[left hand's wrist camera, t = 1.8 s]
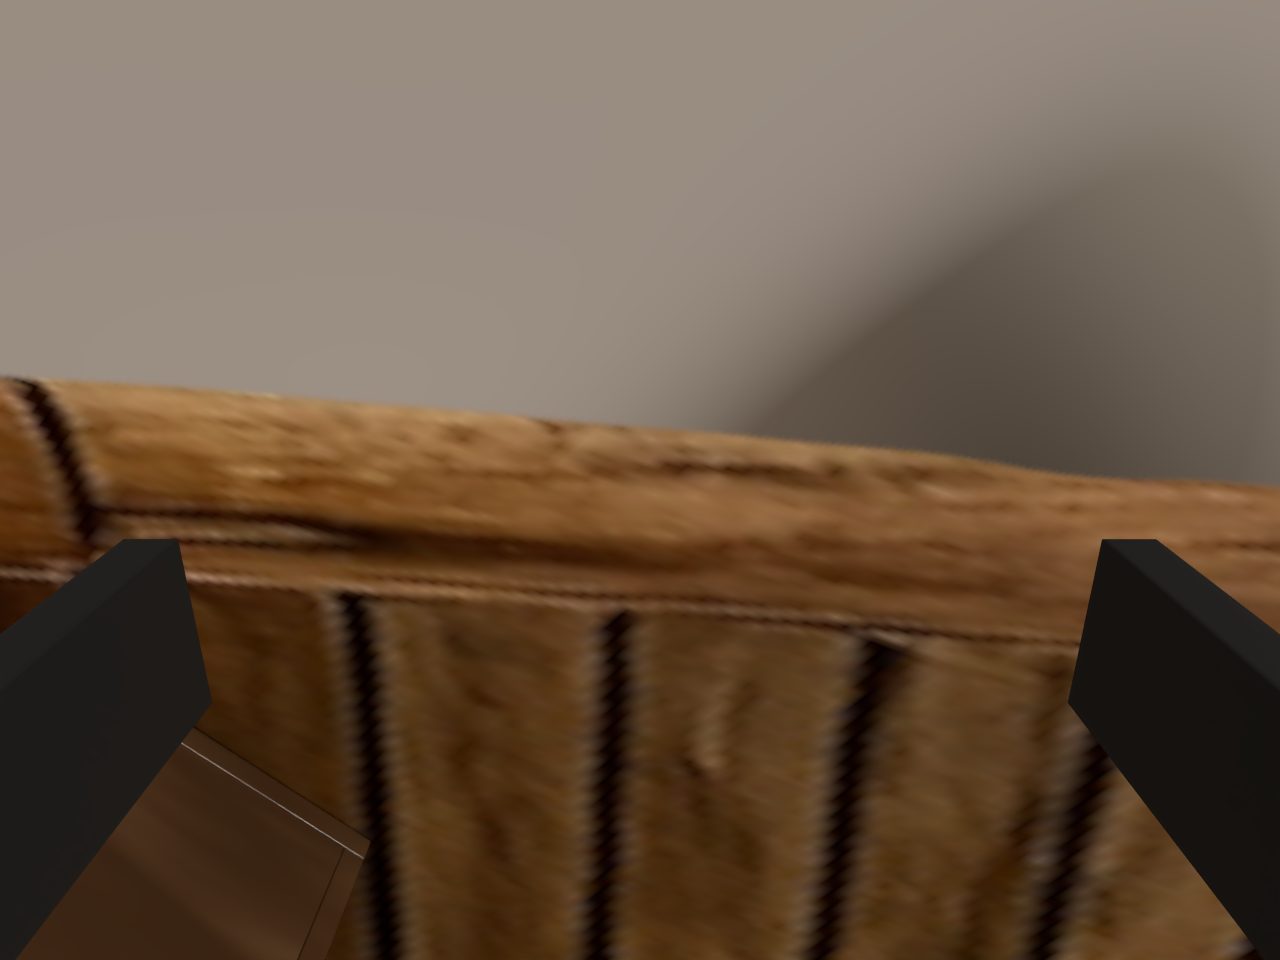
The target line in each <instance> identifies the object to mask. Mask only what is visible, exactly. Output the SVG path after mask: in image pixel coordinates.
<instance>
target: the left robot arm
mask: <svg viewBox="0 0 1280 960" xmlns="http://www.w3.org/2000/svg"><path fill="white" fill-rule="evenodd" d="M211 703H212V700H211V695H210V690H209V686H208V681H207V676H206V671H205V667H204V662H203V657H202V652H201V648H200V643H199V638H198V633H197V628H196V624H195V619H194V614H193V609H192V605H191V600H190V595H189V590H188V585H187V581H186V576H185V571H184V566H183V562H182V557H181V552H180V547H179V543H178V539H124V540H122V541H121V542H120V543H118V544H117V545H116V546H115V547H113V548H112V549H111V550H109V551H108V552H107V553H105V554H104V555H103V556H102V557H100V558H99V559H98V560H96V561H95V562H94V563H92V564H91V565H90V566H88V567H87V568H86V569H85V570H83V571H82V572H81V573H79V574H78V575H77V576H75V577H74V578H73V579H72V580H70V581H69V582H68V583H66V584H65V585H64V586H62V587H61V588H60V589H59V590H57V591H56V592H55V593H53V594H52V595H51V596H49V597H48V598H47V599H46V600H44V601H43V602H42V603H40V604H39V605H38V606H36V607H35V608H34V609H32V610H31V611H30V612H29V613H27V614H26V615H25V616H23V617H22V618H21V619H19V620H18V621H17V622H16V623H14V624H13V625H12V626H10V627H9V628H8V629H6V630H5V631H4V632H3V633H1V634H0V960H16V958H17V957H18V956H19V954H20V953H21V952H22V951H23V949H24V948H25V947H26V945H27V944H28V943H29V941H30V940H31V939H32V937H33V936H34V935H35V934H36V932H37V931H38V930H39V928H40V927H41V926H42V924H43V923H44V922H45V920H46V919H47V918H48V917H49V915H50V914H51V913H52V911H53V910H54V909H55V907H56V906H57V905H58V903H59V902H60V901H61V900H62V898H63V897H64V896H65V894H66V893H67V892H68V890H69V889H70V888H71V886H72V885H73V884H74V883H75V881H76V880H77V879H78V877H79V876H80V875H81V873H82V872H83V871H84V869H85V868H86V867H87V866H88V864H89V863H90V862H91V860H92V859H93V858H94V856H95V855H96V854H97V852H98V851H99V850H100V849H101V847H102V846H103V845H104V843H105V842H106V841H107V839H108V838H109V837H110V835H111V834H112V833H113V832H114V830H115V829H116V828H117V826H118V825H119V824H120V822H121V821H122V820H123V818H124V817H125V816H126V815H127V813H128V812H129V811H130V809H131V808H132V807H133V805H134V804H135V803H136V801H137V800H138V799H139V798H140V796H141V795H142V794H143V792H144V791H145V790H146V788H147V787H148V786H149V784H150V783H151V782H152V781H153V779H154V778H155V777H156V775H157V774H158V773H159V771H160V770H161V769H162V767H163V766H164V765H165V764H166V762H167V761H168V760H169V758H170V757H171V756H172V754H173V753H174V752H175V750H176V749H177V748H178V747H179V745H180V744H181V743H182V741H183V740H184V739H185V737H186V736H187V735H188V733H189V732H190V731H191V730H192V728H193V727H194V726H195V724H196V723H197V722H198V720H199V719H200V718H201V716H202V715H203V714H204V713H205V711H206V710H207V709H208V707H209V706H210V705H211ZM1068 703H1069V705H1070V706H1071V707H1072V709H1073V710H1074V711H1075V713H1076V714H1077V715H1078V716H1079V718H1080V719H1081V720H1082V722H1083V723H1084V724H1085V726H1086V727H1087V728H1088V730H1089V731H1090V732H1091V733H1092V735H1093V736H1094V737H1095V739H1096V740H1097V741H1098V743H1099V744H1100V745H1101V747H1102V748H1103V749H1104V750H1105V752H1106V753H1107V754H1108V756H1109V757H1110V758H1111V760H1112V761H1113V762H1114V764H1115V765H1116V766H1117V767H1118V769H1119V770H1120V771H1121V773H1122V774H1123V775H1124V777H1125V778H1126V779H1127V781H1128V782H1129V783H1130V784H1131V786H1132V787H1133V788H1134V790H1135V791H1136V792H1137V794H1138V795H1139V796H1140V798H1141V799H1142V800H1143V801H1144V803H1145V804H1146V805H1147V807H1148V808H1149V809H1150V811H1151V812H1152V813H1153V815H1154V816H1155V817H1156V818H1157V820H1158V821H1159V822H1160V824H1161V825H1162V826H1163V828H1164V829H1165V830H1166V832H1167V833H1168V834H1169V835H1170V837H1171V838H1172V839H1173V841H1174V842H1175V843H1176V845H1177V846H1178V847H1179V849H1180V850H1181V851H1182V852H1183V854H1184V855H1185V856H1186V858H1187V859H1188V860H1189V862H1190V863H1191V864H1192V866H1193V867H1194V868H1195V869H1196V871H1197V872H1198V873H1199V875H1200V876H1201V877H1202V879H1203V880H1204V881H1205V883H1206V884H1207V885H1208V886H1209V888H1210V889H1211V890H1212V892H1213V893H1214V894H1215V896H1216V897H1217V898H1218V900H1219V901H1220V902H1221V903H1222V905H1223V906H1224V907H1225V909H1226V910H1227V911H1228V913H1229V914H1230V915H1231V917H1232V918H1233V919H1234V920H1235V922H1236V923H1237V924H1238V926H1239V927H1240V928H1241V930H1242V931H1243V932H1244V934H1245V935H1246V936H1247V937H1248V939H1249V940H1250V941H1251V943H1252V944H1253V945H1254V947H1255V948H1256V949H1257V951H1258V952H1259V953H1260V954H1261V956H1262V957H1263V958H1264V960H1280V634H1279V633H1277V632H1276V631H1275V630H1274V629H1272V628H1271V627H1270V626H1268V625H1267V624H1266V623H1264V622H1263V621H1262V620H1261V619H1259V618H1258V617H1257V616H1255V615H1254V614H1253V613H1251V612H1250V611H1249V610H1248V609H1246V608H1245V607H1244V606H1242V605H1241V604H1240V603H1238V602H1237V601H1236V600H1234V599H1233V598H1232V597H1231V596H1229V595H1228V594H1227V593H1225V592H1224V591H1223V590H1221V589H1220V588H1219V587H1218V586H1216V585H1215V584H1214V583H1212V582H1211V581H1210V580H1208V579H1207V578H1206V577H1205V576H1203V575H1202V574H1201V573H1199V572H1198V571H1197V570H1195V569H1194V568H1193V567H1191V566H1190V565H1189V564H1188V563H1186V562H1185V561H1184V560H1182V559H1181V558H1180V557H1178V556H1177V555H1176V554H1175V553H1173V552H1172V551H1171V550H1169V549H1168V548H1167V547H1165V546H1164V545H1163V544H1162V543H1160V542H1159V541H1158V540H1156V539H1102V542H1101V547H1100V552H1099V557H1098V562H1097V566H1096V571H1095V576H1094V581H1093V585H1092V590H1091V595H1090V600H1089V605H1088V609H1087V614H1086V619H1085V624H1084V628H1083V633H1082V638H1081V643H1080V648H1079V652H1078V657H1077V662H1076V667H1075V671H1074V676H1073V681H1072V686H1071V690H1070V695H1069V700H1068Z"/></svg>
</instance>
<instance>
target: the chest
mask: <svg viewBox="0 0 1280 960" xmlns="http://www.w3.org/2000/svg"><path fill="white" fill-rule="evenodd" d="M369 845H370V840H368V839H367V838H365V837H363V836H362V835H360V834H359V833H357V832H356V831H354V830H353V829H351V828H349V827H348V826H346V825H345V824H343V823H342V822H340V821H338V820H337V819H335V818H334V817H332V816H331V815H329V814H328V813H326V812H324V811H323V810H321V809H320V808H318V807H317V806H315V805H314V804H312V803H310V802H309V801H307V800H306V799H304V798H303V797H301V796H300V795H298V794H296V793H295V792H293V791H292V790H290V789H289V788H287V787H285V786H284V785H282V784H281V783H279V782H278V781H276V780H275V779H273V778H271V777H270V776H268V775H267V774H265V773H264V772H262V771H261V770H259V769H257V768H256V767H254V766H253V765H251V764H250V763H248V762H247V761H245V760H243V759H242V758H240V757H239V756H237V755H236V754H234V753H233V752H231V751H229V750H228V749H226V748H225V747H223V746H222V745H220V744H218V743H217V742H215V741H214V740H212V739H211V738H209V737H208V736H206V735H204V734H203V733H201V732H200V731H198V730H197V729H195V728H194V727H193V728H192V730H191V731H190V732H189V733H188V735H187V736H186V737H185V739H184V740H183V741H182V743H181V744H180V745H179V747H178V748H177V749H176V750H175V752H174V753H173V754H172V756H171V757H170V758H169V760H168V761H167V762H166V764H165V765H164V766H163V767H162V769H161V770H160V771H159V773H158V774H157V775H156V777H155V778H154V779H153V781H152V782H151V783H150V784H149V786H148V787H147V788H146V790H145V791H144V792H143V794H142V795H141V796H140V798H139V799H138V800H137V801H136V803H135V804H134V805H133V807H132V808H131V809H130V811H129V812H128V813H127V815H126V816H125V817H124V818H123V820H122V821H121V822H120V824H119V825H118V826H117V828H116V829H115V830H114V832H113V833H112V834H111V835H110V837H109V838H108V839H107V841H106V842H105V843H104V845H103V846H102V847H101V849H100V850H99V851H98V852H97V854H96V855H95V856H94V858H93V859H92V860H91V862H90V863H89V864H88V866H87V867H86V868H85V869H84V871H83V872H82V873H81V875H80V876H79V877H78V879H77V880H76V881H75V883H74V884H73V885H72V886H71V888H70V889H69V890H68V892H67V893H66V894H65V896H64V897H63V898H62V900H61V901H60V902H59V903H58V905H57V906H56V907H55V909H54V910H53V911H52V913H51V914H50V915H49V917H48V918H47V919H46V920H45V922H44V923H43V924H42V926H41V927H40V928H39V930H38V931H37V932H36V934H35V935H34V936H33V937H32V939H31V940H30V941H29V943H28V944H27V945H26V947H25V948H24V949H23V951H22V952H21V953H20V954H19V956H18V957H17V958H16V960H325V959H326V956H327V954H328V951H329V948H330V946H331V943H332V941H333V938H334V935H335V933H336V930H337V928H338V925H339V922H340V920H341V917H342V915H343V912H344V909H345V907H346V904H347V902H348V899H349V896H350V894H351V891H352V889H353V886H354V883H355V881H356V878H357V876H358V873H359V870H360V868H361V865H362V862H363V859H364V858H365V855H366V853H367V850H368V847H369Z"/></svg>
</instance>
